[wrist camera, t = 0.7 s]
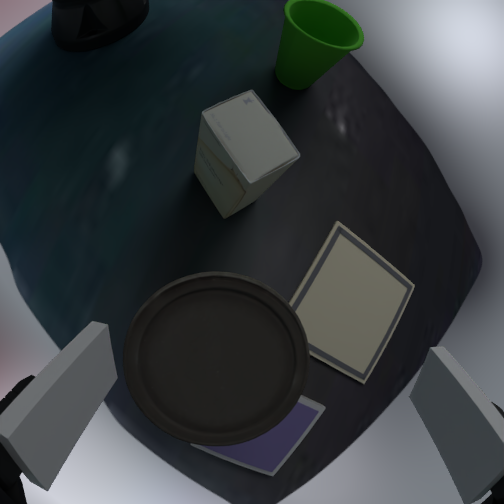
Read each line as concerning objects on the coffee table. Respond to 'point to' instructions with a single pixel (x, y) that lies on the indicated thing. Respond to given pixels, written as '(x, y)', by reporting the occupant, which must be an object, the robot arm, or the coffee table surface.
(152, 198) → the coffee table surface
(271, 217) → the coffee table surface
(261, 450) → the ink pad
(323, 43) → the cup
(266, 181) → the skincare box
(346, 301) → the cream square tile
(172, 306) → the coffee can
